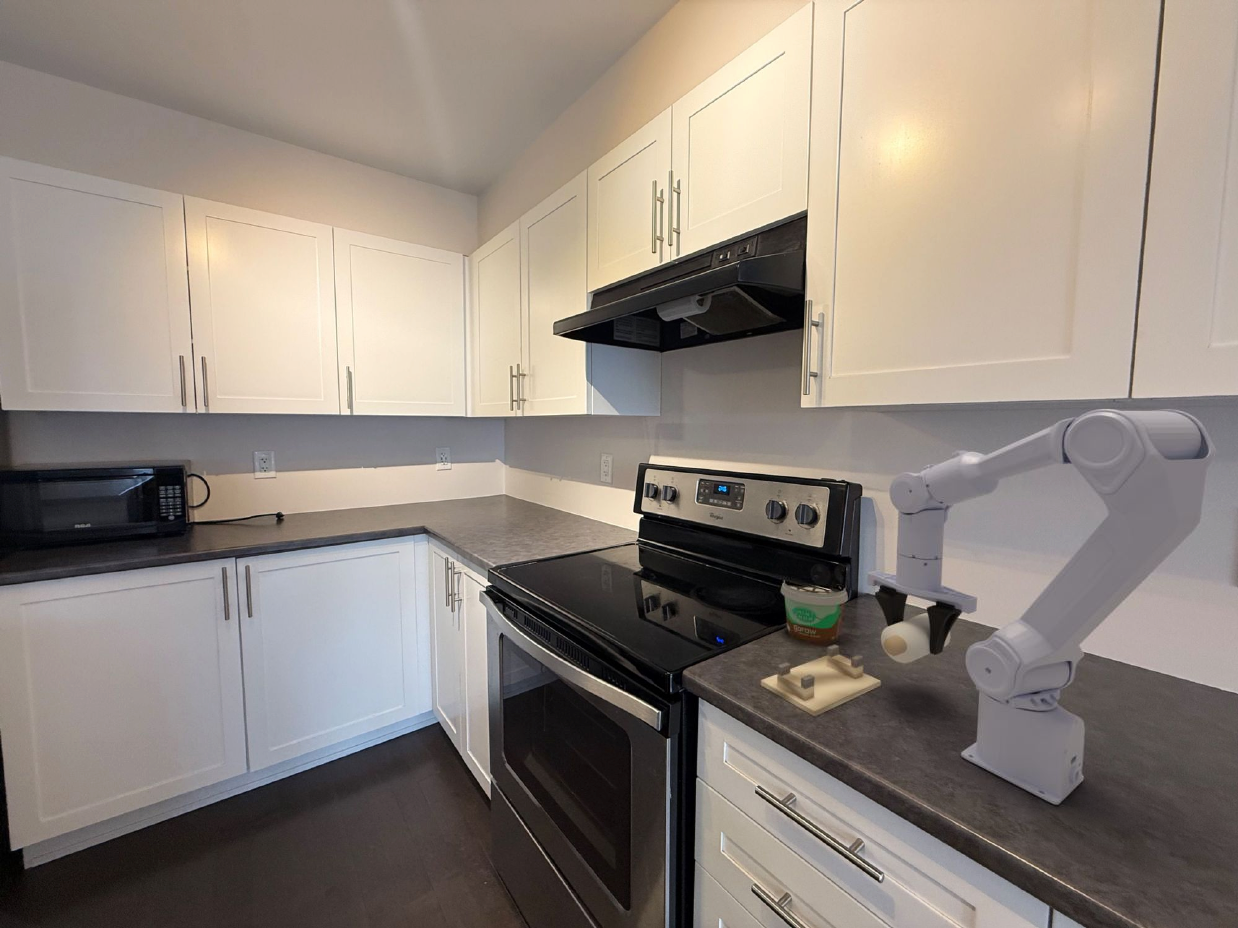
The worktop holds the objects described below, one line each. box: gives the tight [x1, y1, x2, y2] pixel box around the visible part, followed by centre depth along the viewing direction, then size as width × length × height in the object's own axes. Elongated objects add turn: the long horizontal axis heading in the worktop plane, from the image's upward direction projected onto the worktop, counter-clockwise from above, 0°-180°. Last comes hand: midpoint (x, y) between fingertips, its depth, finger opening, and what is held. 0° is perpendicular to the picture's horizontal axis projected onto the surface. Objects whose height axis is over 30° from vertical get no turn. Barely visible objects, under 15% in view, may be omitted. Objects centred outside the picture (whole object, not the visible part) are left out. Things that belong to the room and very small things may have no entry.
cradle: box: [760, 644, 882, 718], centre depth 78 cm, size 10×16×4 cm, turn 121°
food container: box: [780, 579, 849, 645], centre depth 95 cm, size 12×6×10 cm, turn 62°
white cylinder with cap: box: [880, 612, 951, 664], centre depth 73 cm, size 5×12×5 cm, turn 121°
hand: (915, 644), depth 73 cm, fingers closed on white cylinder with cap, 5 cm apart
